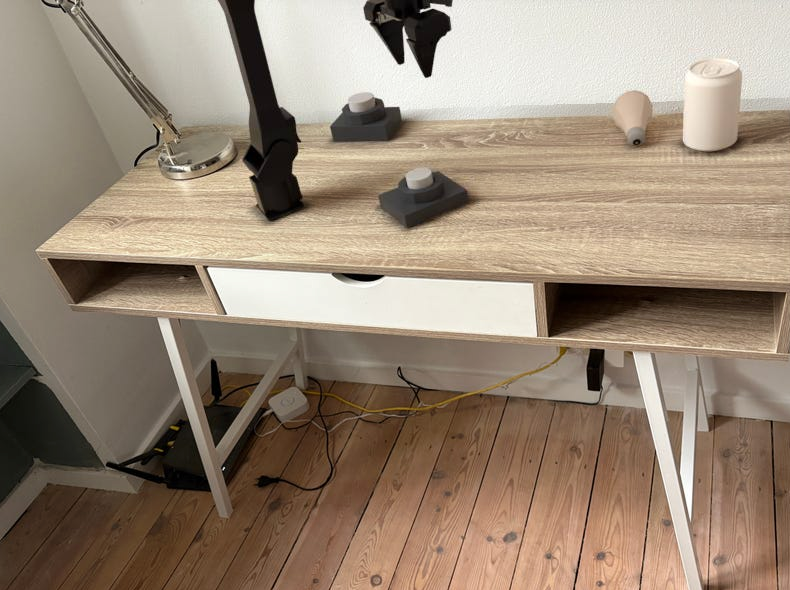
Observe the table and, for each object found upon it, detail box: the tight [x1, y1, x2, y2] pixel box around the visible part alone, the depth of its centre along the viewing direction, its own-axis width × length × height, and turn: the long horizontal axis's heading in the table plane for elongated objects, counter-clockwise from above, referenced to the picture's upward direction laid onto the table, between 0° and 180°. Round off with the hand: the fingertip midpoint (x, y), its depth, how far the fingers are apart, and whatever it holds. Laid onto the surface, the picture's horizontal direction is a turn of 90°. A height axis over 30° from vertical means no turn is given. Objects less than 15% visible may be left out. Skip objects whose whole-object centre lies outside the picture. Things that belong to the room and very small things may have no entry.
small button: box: [405, 167, 433, 189], centre depth 125 cm, size 4×4×2 cm
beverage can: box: [682, 57, 743, 153], centre depth 125 cm, size 8×8×12 cm
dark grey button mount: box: [329, 96, 403, 142], centre depth 152 cm, size 11×8×5 cm
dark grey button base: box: [377, 170, 470, 229], centre depth 126 cm, size 11×9×4 cm
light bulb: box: [611, 90, 654, 148], centre depth 133 cm, size 7×7×11 cm
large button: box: [347, 91, 376, 112], centre depth 150 cm, size 5×5×2 cm
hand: (414, 70), depth 133 cm, fingers open, 9 cm apart
